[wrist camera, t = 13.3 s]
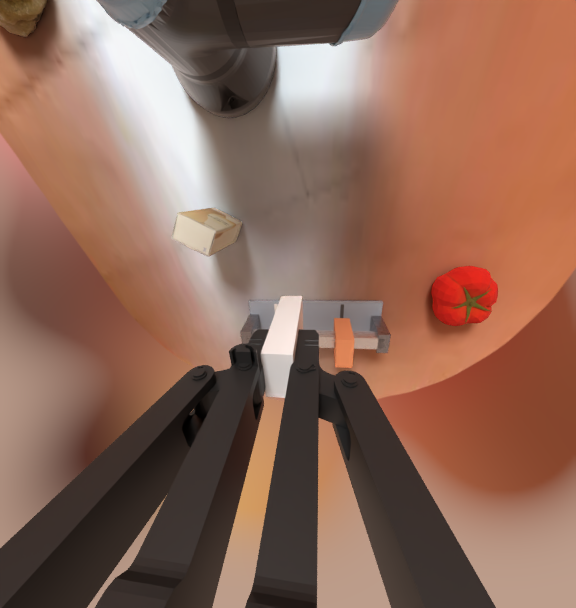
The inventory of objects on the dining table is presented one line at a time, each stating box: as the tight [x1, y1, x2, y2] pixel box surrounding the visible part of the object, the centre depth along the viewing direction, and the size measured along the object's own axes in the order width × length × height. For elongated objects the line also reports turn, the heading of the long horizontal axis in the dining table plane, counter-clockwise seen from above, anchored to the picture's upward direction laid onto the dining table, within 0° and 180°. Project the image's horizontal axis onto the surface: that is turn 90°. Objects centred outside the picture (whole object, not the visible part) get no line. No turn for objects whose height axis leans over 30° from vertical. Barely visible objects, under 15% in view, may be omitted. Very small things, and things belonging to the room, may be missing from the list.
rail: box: [241, 314, 391, 353], centre depth 48 cm, size 28×4×7 cm, turn 93°
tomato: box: [431, 266, 498, 326], centre depth 42 cm, size 10×11×7 cm
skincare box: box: [172, 208, 242, 257], centre depth 39 cm, size 6×4×12 cm
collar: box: [334, 318, 355, 368], centre depth 44 cm, size 3×6×8 cm, turn 3°
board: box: [249, 300, 383, 331], centre depth 51 cm, size 28×10×1 cm, turn 93°
